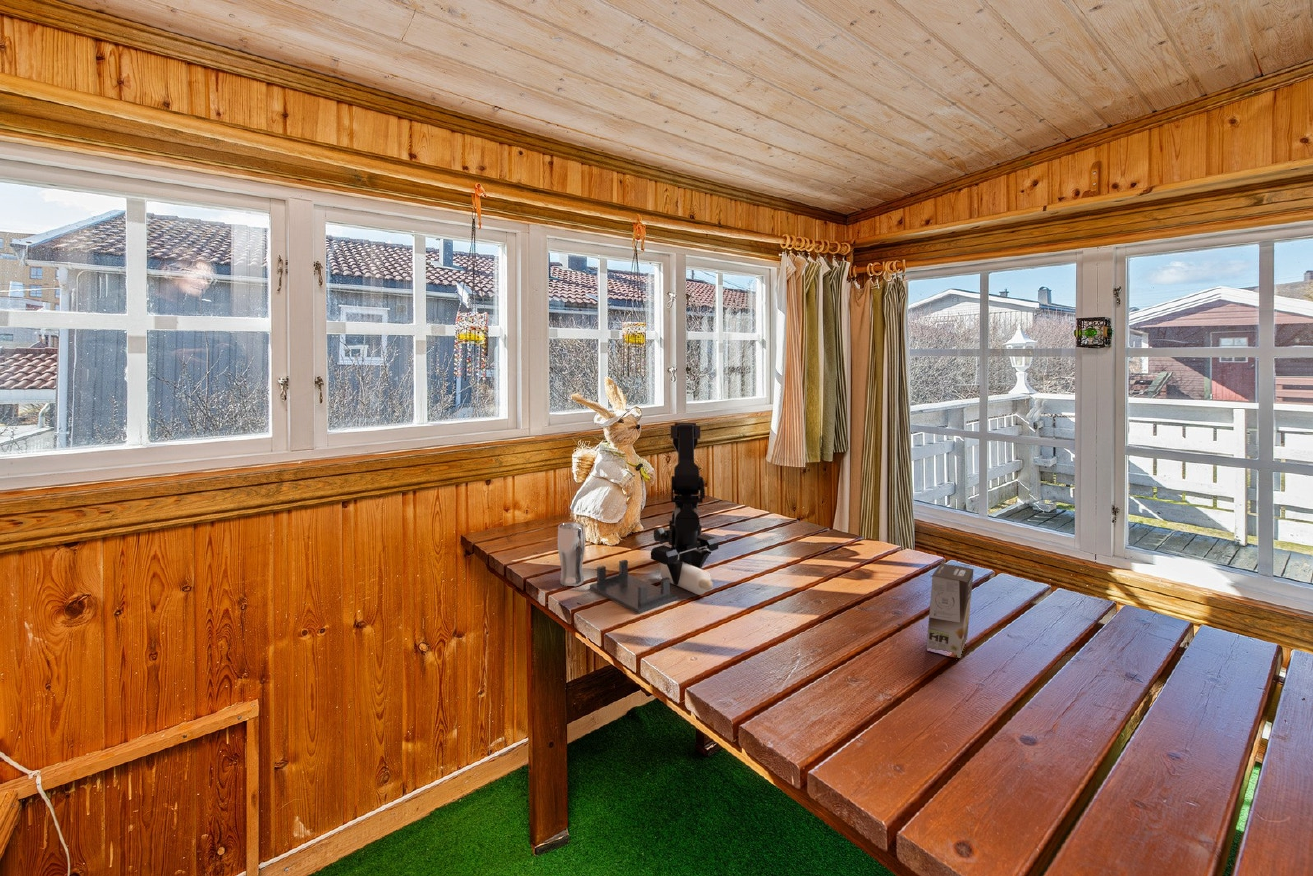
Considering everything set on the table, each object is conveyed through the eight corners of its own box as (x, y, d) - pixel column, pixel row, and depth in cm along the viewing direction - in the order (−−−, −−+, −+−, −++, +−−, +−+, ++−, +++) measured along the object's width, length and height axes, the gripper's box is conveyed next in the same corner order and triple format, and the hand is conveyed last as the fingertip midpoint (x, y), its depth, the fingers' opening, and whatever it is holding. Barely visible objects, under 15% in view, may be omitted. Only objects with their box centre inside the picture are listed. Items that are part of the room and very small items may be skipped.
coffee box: (960, 661, 118) (967, 582, 115) (925, 651, 121) (931, 575, 119) (967, 642, 125) (974, 568, 123) (934, 634, 129) (940, 561, 126)
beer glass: (580, 588, 151) (580, 530, 149) (554, 586, 153) (553, 528, 151) (589, 578, 158) (588, 522, 156) (563, 576, 159) (563, 521, 157)
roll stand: (627, 577, 159) (627, 557, 158) (676, 600, 145) (677, 578, 144) (589, 588, 151) (589, 567, 150) (638, 614, 137) (638, 590, 136)
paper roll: (653, 580, 157) (653, 558, 156) (670, 574, 161) (670, 553, 160) (700, 601, 145) (701, 577, 144) (717, 594, 149) (718, 571, 148)
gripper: (689, 508, 163) (688, 564, 165) (636, 521, 150) (636, 581, 153) (720, 517, 154) (719, 576, 157) (666, 531, 142) (665, 594, 144)
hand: (684, 581), depth 153 cm, fingers closed on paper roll, 6 cm apart
